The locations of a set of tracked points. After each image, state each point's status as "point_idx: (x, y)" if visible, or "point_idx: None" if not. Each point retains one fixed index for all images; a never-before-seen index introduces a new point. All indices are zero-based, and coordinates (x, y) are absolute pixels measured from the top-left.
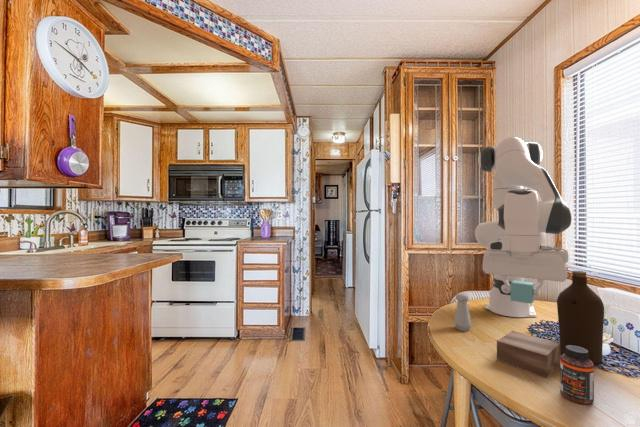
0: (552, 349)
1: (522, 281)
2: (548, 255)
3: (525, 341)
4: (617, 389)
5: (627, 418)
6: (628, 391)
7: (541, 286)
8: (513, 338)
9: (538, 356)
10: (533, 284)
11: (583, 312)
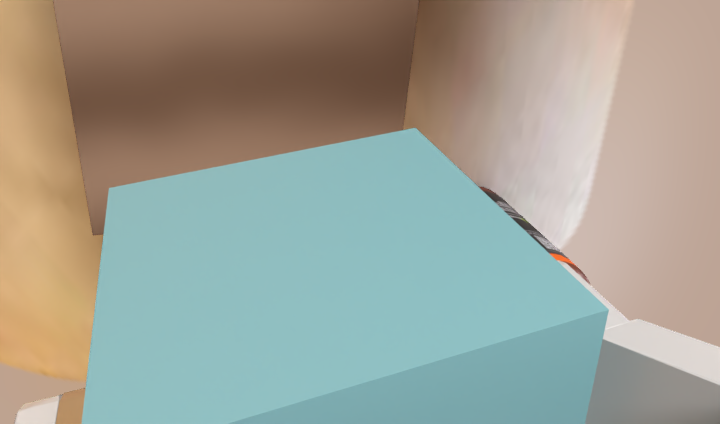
0: (404, 89)
1: (337, 399)
2: None
3: (237, 80)
4: (584, 27)
5: (569, 227)
6: (616, 12)
7: (686, 350)
8: (147, 88)
9: None
10: (574, 380)
11: None
